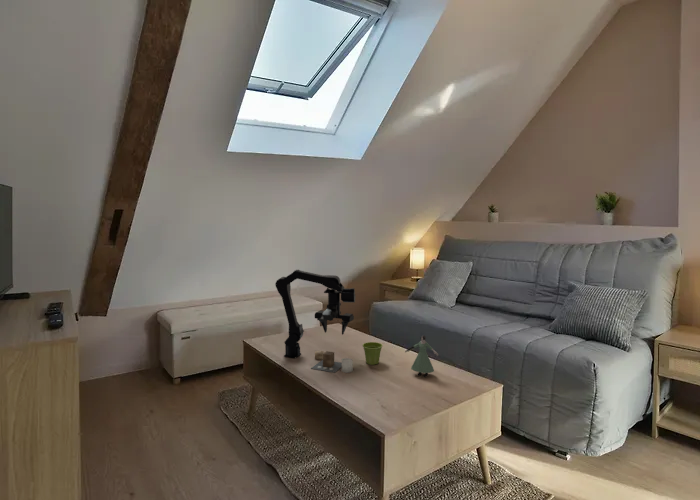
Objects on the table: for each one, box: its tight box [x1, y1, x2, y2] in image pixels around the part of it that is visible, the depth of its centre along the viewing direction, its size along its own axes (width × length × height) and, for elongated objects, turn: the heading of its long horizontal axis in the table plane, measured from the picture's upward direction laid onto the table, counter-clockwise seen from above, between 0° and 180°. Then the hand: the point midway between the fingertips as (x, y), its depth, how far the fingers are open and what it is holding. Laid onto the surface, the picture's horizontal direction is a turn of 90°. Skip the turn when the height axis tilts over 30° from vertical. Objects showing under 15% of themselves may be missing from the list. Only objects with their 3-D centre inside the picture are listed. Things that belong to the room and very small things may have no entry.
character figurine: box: [404, 334, 439, 378], centre depth 203 cm, size 16×8×18 cm, turn 59°
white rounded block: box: [341, 357, 354, 374], centre depth 209 cm, size 5×5×5 cm
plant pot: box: [362, 341, 383, 366], centre depth 219 cm, size 9×9×9 cm
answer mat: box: [310, 359, 342, 373], centre depth 214 cm, size 12×12×1 cm
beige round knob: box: [314, 350, 325, 361], centre depth 225 cm, size 5×5×3 cm
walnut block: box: [322, 350, 335, 368], centre depth 214 cm, size 4×4×6 cm
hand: (334, 333), depth 225 cm, fingers open, 9 cm apart
